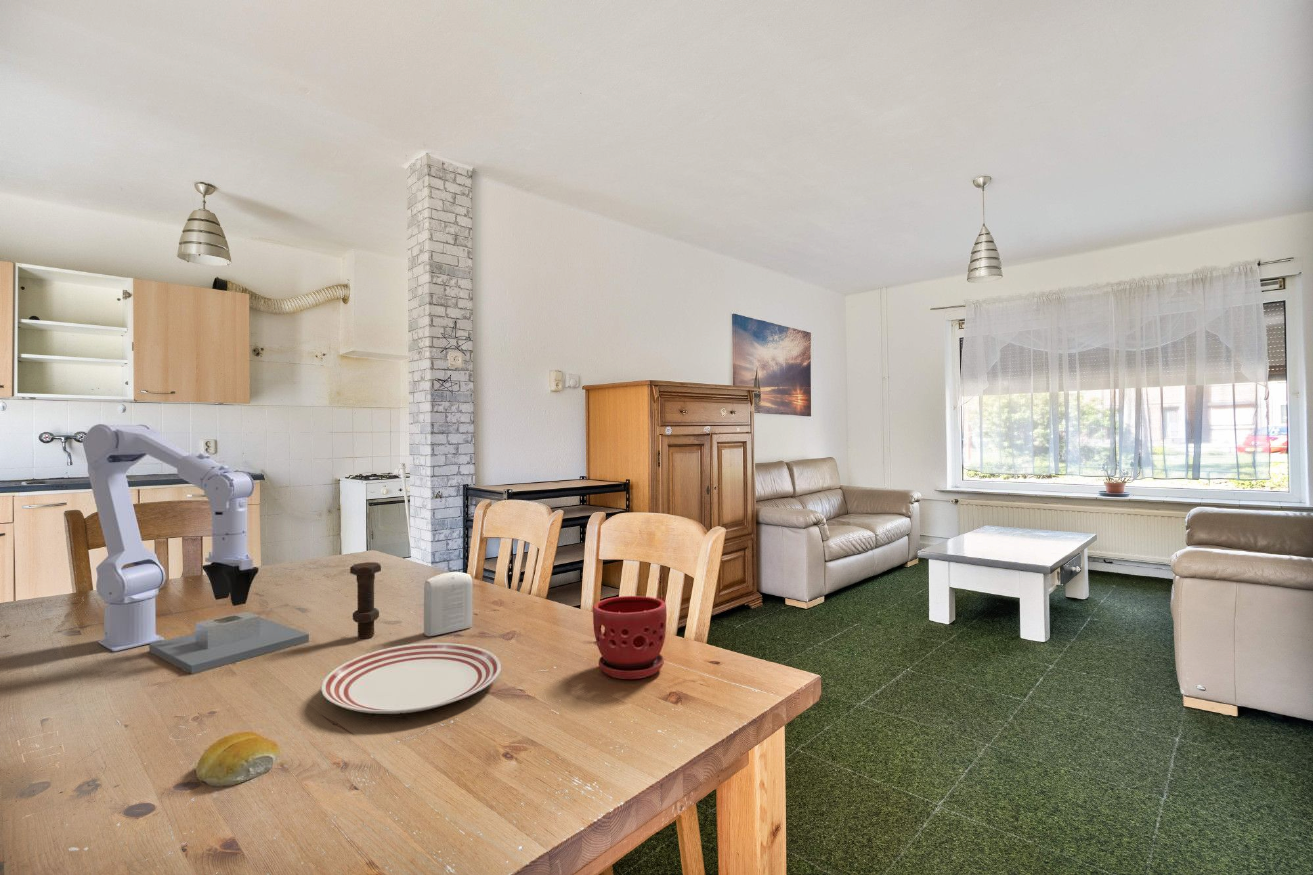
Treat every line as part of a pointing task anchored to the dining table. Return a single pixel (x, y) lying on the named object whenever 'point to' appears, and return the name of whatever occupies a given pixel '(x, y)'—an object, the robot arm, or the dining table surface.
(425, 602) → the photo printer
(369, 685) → the dinner plate
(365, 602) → the bolt
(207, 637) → the block with square hole
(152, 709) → the dining table surface
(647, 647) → the plant pot
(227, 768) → the bread roll
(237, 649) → the pin board
